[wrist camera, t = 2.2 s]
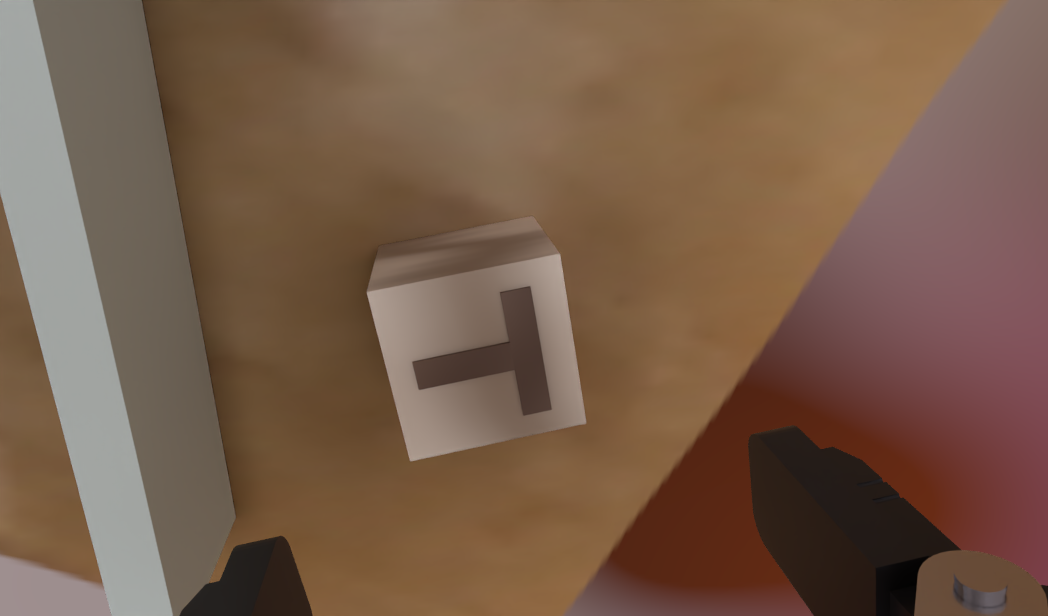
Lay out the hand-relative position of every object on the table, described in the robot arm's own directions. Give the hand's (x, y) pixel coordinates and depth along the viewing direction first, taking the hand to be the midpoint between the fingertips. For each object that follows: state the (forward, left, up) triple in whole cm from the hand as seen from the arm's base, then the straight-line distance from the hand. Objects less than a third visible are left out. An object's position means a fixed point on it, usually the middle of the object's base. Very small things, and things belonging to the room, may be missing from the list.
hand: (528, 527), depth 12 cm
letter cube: (0, 0, -12) cm, 12 cm away
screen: (-9, +3, -12) cm, 16 cm away
